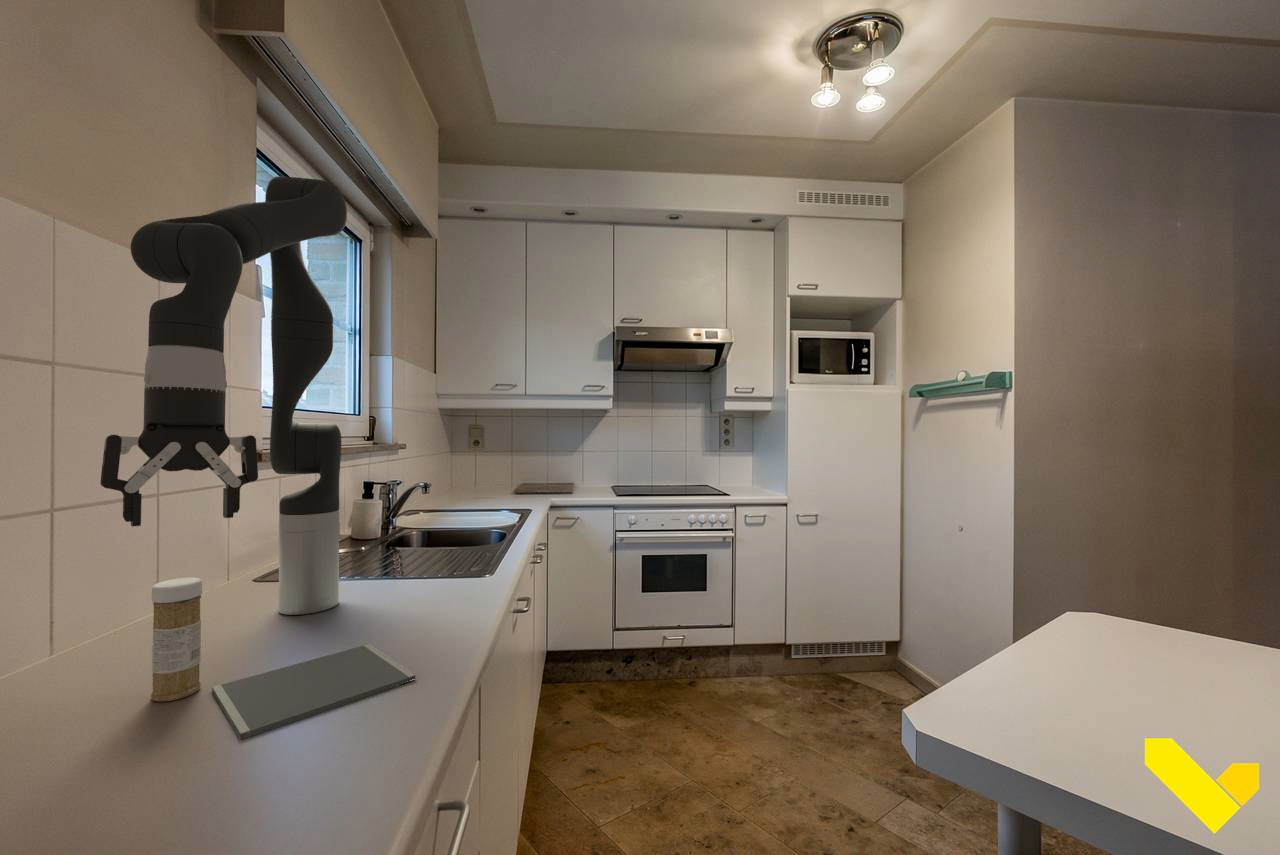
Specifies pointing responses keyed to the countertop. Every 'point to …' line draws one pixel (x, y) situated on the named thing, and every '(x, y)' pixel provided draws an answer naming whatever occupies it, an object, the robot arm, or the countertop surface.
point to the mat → (307, 689)
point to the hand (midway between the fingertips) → (183, 521)
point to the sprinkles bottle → (176, 638)
